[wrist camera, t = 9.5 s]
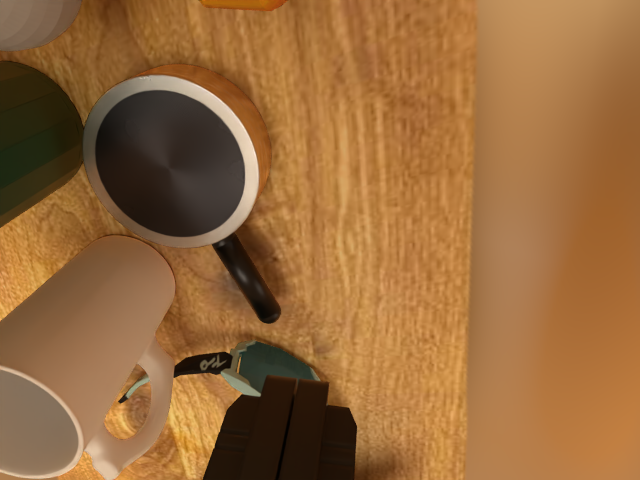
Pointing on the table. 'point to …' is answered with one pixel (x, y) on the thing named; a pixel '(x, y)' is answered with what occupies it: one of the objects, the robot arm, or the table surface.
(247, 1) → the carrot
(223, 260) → the pan
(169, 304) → the mug
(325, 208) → the table surface
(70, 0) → the light bulb
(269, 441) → the robot arm
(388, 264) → the table surface
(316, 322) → the table surface
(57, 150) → the bottle
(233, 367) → the sunglasses
